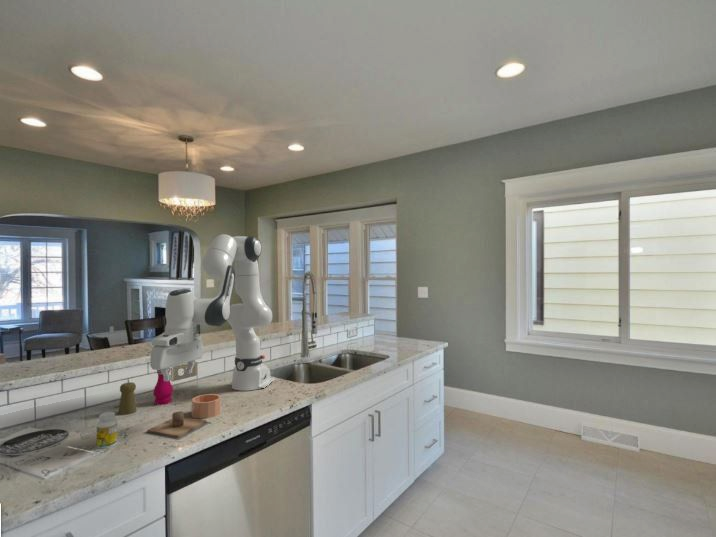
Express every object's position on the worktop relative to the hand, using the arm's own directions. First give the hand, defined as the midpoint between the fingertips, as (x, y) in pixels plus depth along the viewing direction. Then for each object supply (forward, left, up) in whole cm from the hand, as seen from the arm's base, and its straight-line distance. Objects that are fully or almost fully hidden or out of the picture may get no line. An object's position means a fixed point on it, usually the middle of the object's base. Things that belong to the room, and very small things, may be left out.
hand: (178, 377), depth 127 cm
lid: (0, 0, -17) cm, 17 cm away
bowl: (-14, 0, -18) cm, 23 cm away
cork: (-6, -30, -18) cm, 35 cm away
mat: (0, 0, -18) cm, 18 cm away
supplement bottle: (+17, -11, -18) cm, 27 cm away
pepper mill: (-19, -26, -18) cm, 37 cm away
